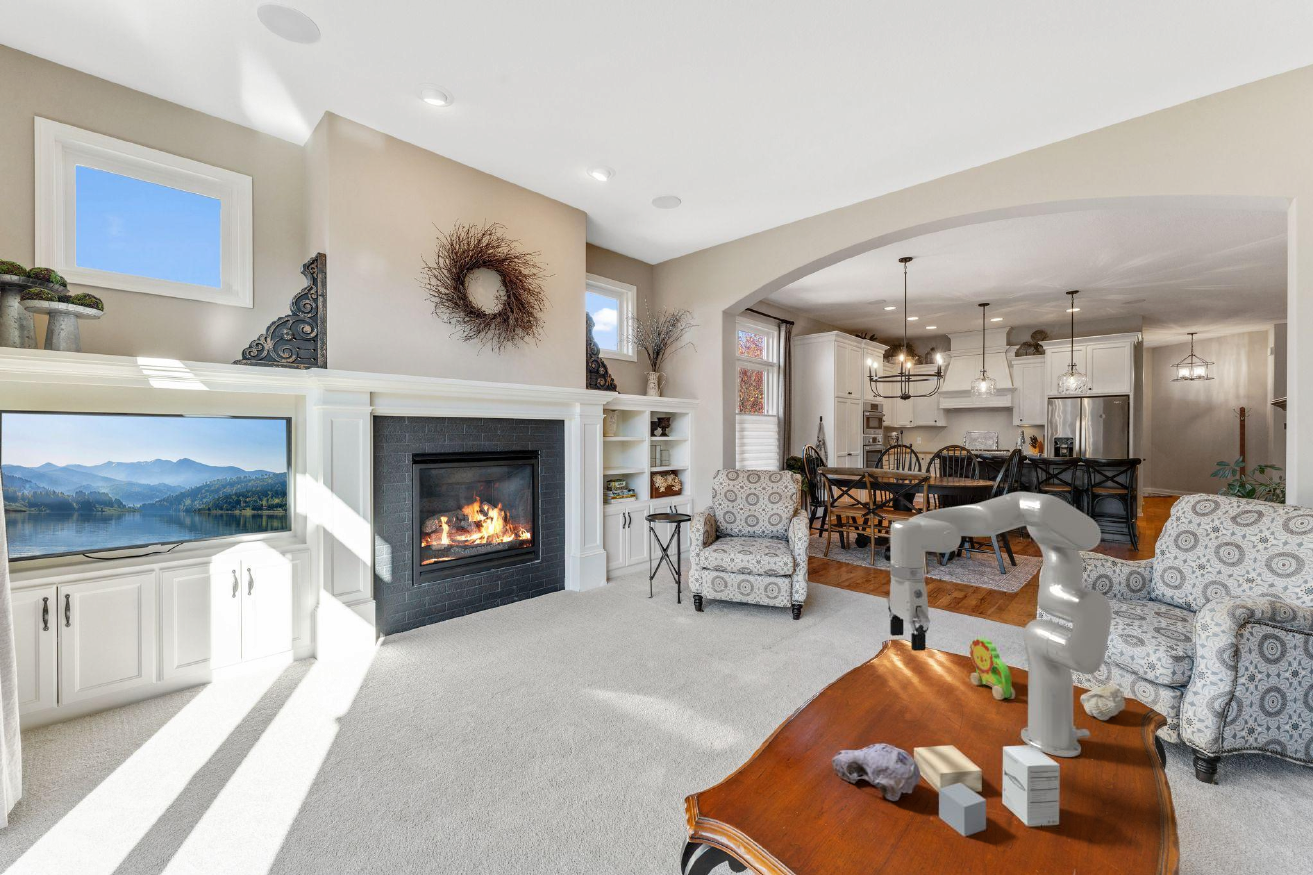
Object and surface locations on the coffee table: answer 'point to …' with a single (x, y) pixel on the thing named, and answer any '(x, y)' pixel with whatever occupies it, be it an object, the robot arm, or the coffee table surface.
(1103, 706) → the fossil replica
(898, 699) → the coffee table surface
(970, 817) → the slate block
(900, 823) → the coffee table surface
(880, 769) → the skull
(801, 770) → the coffee table surface
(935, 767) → the maple block
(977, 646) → the toy lion
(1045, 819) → the supplement box
